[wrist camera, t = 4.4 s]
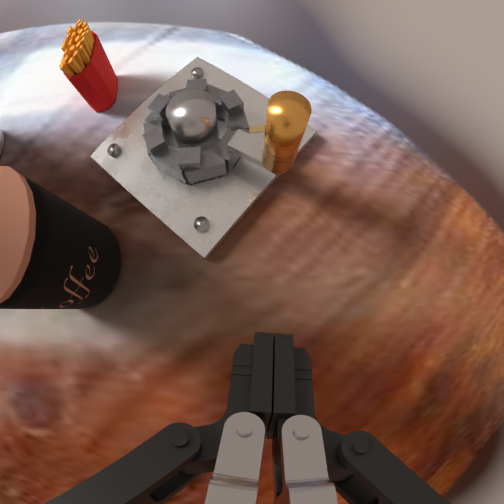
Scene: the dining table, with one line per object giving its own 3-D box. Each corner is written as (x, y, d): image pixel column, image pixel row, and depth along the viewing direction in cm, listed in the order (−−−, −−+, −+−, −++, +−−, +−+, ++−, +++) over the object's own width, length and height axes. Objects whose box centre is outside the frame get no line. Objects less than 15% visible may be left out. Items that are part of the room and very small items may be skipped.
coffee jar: (75, 325, 32) (-32, 334, 15) (41, 252, 34) (-60, 221, 16) (141, 277, 33) (50, 252, 16) (100, 203, 35) (12, 137, 17)
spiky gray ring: (134, 156, 34) (89, 92, 21) (186, 88, 35) (168, 13, 22) (261, 224, 33) (272, 176, 20) (308, 145, 34) (337, 72, 21)
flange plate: (205, 259, 34) (194, 247, 26) (94, 160, 36) (66, 132, 28) (314, 137, 37) (329, 101, 29) (198, 63, 38) (192, 24, 30)
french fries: (94, 77, 38) (62, 22, 25) (119, 69, 38) (91, 11, 25) (89, 122, 36) (47, 68, 24) (116, 114, 37) (79, 54, 24)
